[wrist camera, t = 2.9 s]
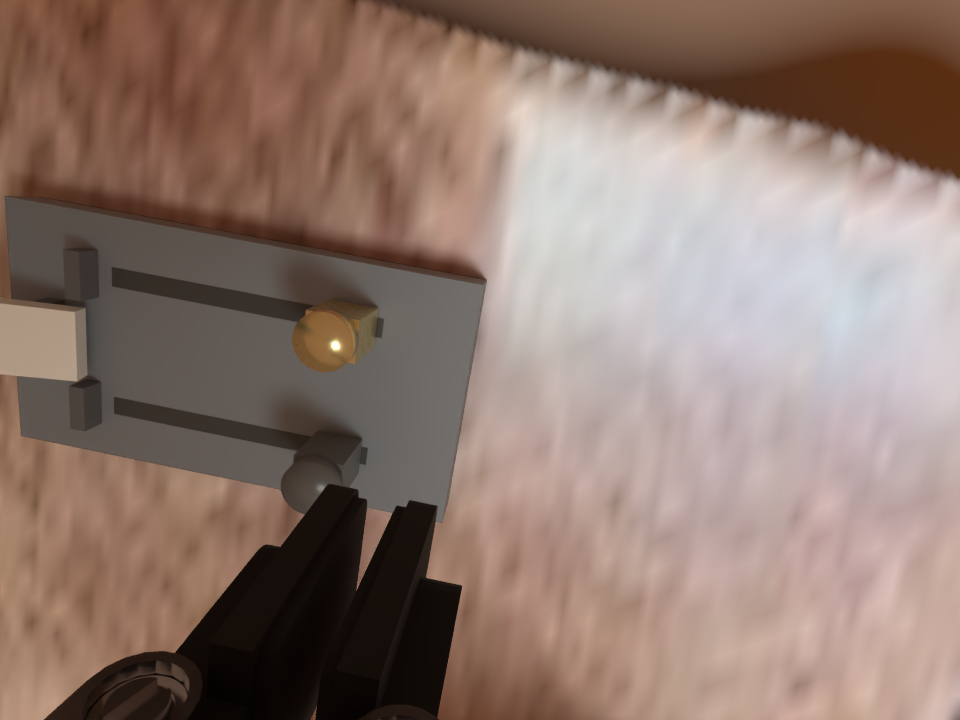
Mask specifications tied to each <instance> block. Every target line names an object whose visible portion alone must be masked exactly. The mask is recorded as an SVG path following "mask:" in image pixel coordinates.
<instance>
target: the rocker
mask: <svg viewBox="0 0 960 720" xmlns="http://www.w3.org/2000/svg"><path fill="white" fill-rule="evenodd" d="M0 374H3V375H14V376H24V377H35V378H45V379H56V380H66V381H79V380H81V379H82V378H84V377H85V376H87V342H86V309H85V308H83V307H75V306H66V305H58V304H50V303H41V302H33V301H25V300H16V299H8V298H0Z"/></svg>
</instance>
